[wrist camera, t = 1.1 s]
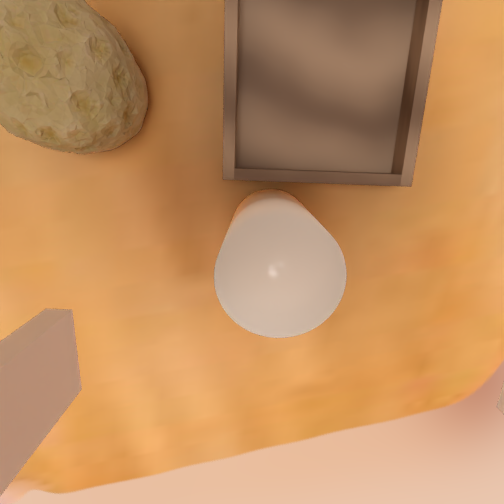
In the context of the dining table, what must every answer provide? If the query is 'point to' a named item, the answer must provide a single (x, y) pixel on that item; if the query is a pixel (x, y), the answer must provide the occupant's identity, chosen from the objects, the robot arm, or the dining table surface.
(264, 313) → the white rounded tapered cylinder
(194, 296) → the dining table surface
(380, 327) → the dining table surface
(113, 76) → the decorative item
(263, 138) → the tray
